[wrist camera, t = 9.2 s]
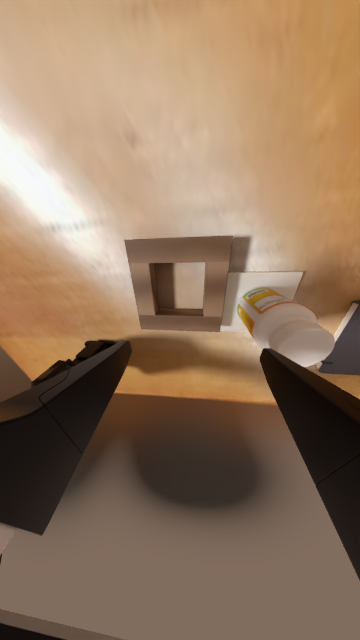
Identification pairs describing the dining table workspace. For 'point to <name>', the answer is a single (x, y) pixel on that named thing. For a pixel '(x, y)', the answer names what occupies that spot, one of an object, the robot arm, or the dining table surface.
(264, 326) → the supplement bottle
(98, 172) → the dining table surface
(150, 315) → the block
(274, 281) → the coaster
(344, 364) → the notebook
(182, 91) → the dining table surface
